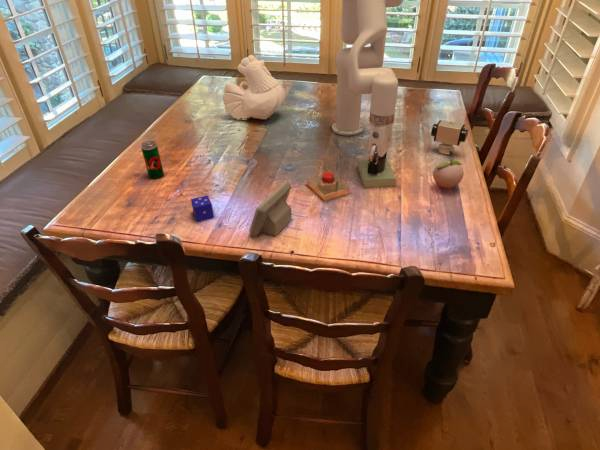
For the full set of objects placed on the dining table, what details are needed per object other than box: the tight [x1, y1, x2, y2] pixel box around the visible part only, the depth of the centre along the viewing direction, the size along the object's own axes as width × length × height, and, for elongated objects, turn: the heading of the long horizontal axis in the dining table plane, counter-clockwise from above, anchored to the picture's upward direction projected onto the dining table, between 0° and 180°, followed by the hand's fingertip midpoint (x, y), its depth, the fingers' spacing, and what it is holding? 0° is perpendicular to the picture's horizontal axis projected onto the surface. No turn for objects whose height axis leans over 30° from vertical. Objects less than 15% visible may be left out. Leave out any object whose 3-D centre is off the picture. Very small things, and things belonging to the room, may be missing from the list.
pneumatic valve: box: [430, 119, 469, 156], centre depth 155 cm, size 6×12×12 cm, turn 61°
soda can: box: [140, 140, 165, 180], centre depth 145 cm, size 5×5×12 cm
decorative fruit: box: [432, 159, 465, 189], centre depth 136 cm, size 9×8×10 cm
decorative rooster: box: [222, 54, 286, 121], centre depth 182 cm, size 25×16×25 cm
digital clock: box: [249, 181, 292, 237], centre depth 122 cm, size 16×9×11 cm, turn 140°
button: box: [321, 171, 335, 182], centre depth 137 cm, size 4×4×2 cm
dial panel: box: [357, 158, 397, 188], centre depth 145 cm, size 13×10×3 cm
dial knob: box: [374, 152, 387, 173], centre depth 142 cm, size 5×5×5 cm
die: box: [190, 195, 215, 222], centre depth 128 cm, size 5×5×5 cm
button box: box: [306, 173, 350, 202], centre depth 139 cm, size 11×9×4 cm
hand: (376, 167), depth 144 cm, fingers open, 8 cm apart
